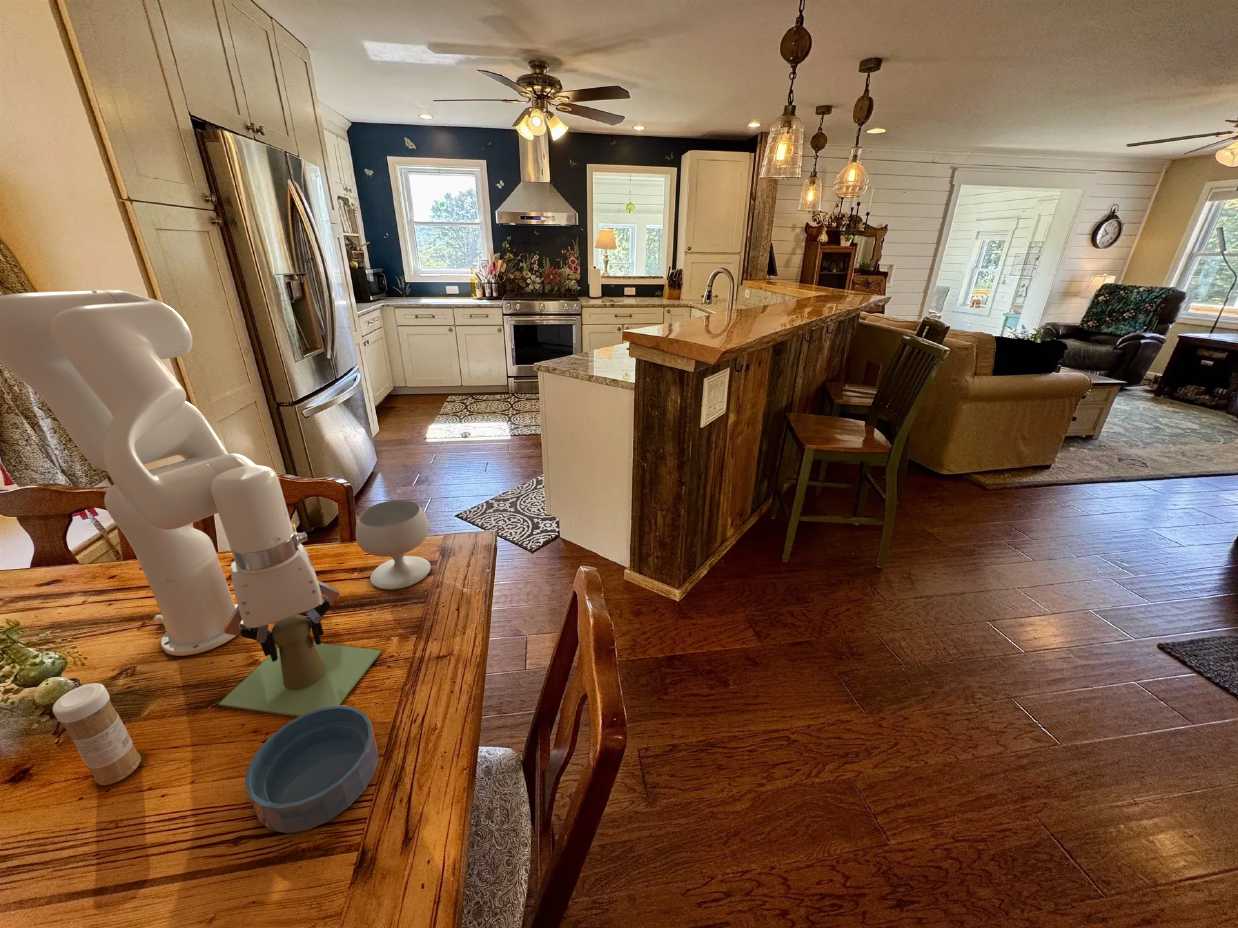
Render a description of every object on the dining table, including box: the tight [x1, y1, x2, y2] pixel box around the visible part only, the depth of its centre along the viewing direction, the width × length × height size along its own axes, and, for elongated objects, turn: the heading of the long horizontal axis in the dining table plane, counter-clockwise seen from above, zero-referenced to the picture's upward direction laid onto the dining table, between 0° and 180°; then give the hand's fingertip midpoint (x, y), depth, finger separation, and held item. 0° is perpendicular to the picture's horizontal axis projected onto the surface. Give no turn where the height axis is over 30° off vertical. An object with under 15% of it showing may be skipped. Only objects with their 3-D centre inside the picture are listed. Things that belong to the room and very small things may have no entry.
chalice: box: [355, 499, 432, 590], centre depth 104 cm, size 14×14×15 cm
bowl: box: [244, 704, 379, 834], centre depth 64 cm, size 14×14×5 cm
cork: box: [270, 614, 326, 690], centre depth 78 cm, size 6×6×11 cm
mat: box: [218, 641, 382, 718], centre depth 80 cm, size 18×14×1 cm
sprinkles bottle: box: [51, 682, 142, 786], centre depth 63 cm, size 5×5×13 cm
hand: (296, 646), depth 78 cm, fingers closed on cork, 5 cm apart
